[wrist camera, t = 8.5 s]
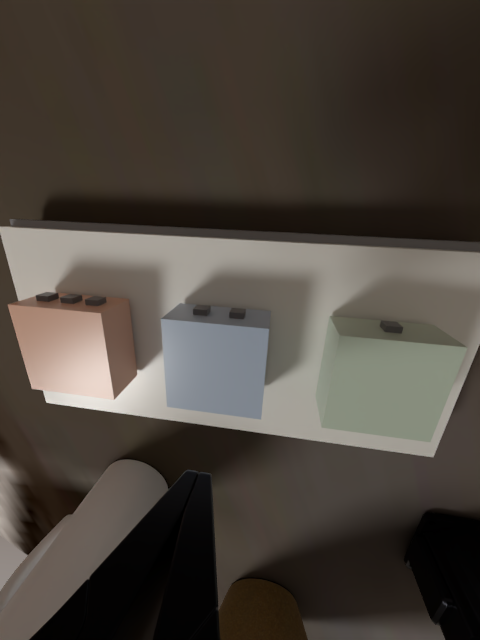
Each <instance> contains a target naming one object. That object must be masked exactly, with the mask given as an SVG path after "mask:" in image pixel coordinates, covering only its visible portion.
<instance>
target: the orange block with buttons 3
mask: <svg viewBox="0 0 480 640" xmlns="http://www.w3.org/2000/svg"><path fill="white" fill-rule="evenodd" d="M8 307H9V311H10V314H11V318H12V321H13V325H14V328H15V332H16V335H17V339H18V342H19V345H20V349H21V352H22V356H23V359H24V363H25V366H26V370H27V373H28V377H29V380H30V384H31V387H32V389H37V390H45V391H52V392H60V393H67V394H74V395H82V396H89V397H97V398H104V399H111V400H115V399H116V397H117V396H118V395H119V394H120V393H121V392H122V391H123V390H124V389H125V388H126V387H127V386H128V385H129V384H130V382H131V381H132V380H133V379H134V378H135V377H136V376H137V366H136V357H135V349H134V340H133V331H132V322H131V314H130V305H129V299H124V298H113V297H101V296H89V295H78V294H66V293H54V292H44V293H41V294H38V295H36V296H34V297H31V298H28V299H24V300H21V301H18V302H14V303H11V304H8Z"/></svg>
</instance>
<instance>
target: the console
mask: <svg viewBox="0 0 480 640" xmlns="http://www.w3.org/2000/svg"><path fill="white" fill-rule="evenodd" d="M10 223H11V226H9V227H0V234H1V238H2V241H3V245H4V249H5V252H6V256H7V260H8V263H9V267H10V271H11V275H12V278H13V282H14V286H15V289H16V293H17V297H18V300H19V301H21V300H24V299H28V298H31V297H34V296H36V295H38V294H41V293H44V292H54V293H66V294H78V295H89V296H101V297H113V298H124V299H129V305H130V314H131V322H132V331H133V340H134V349H135V357H136V366H137V376H136V377H135V378H134V379H133V380H132V381H131V382H130V384H129V385H128V386H127V387H126V388H125V389H124V390H123V391H122V392H121V393H120V394H119V395H118V396H117V397H116V399H115V400H111V399H104V398H97V397H89V396H82V395H74V394H67V393H60V392H52V391H45V390H43V392H44V396H45V400H46V403H52V404H59V405H66V406H74V407H81V408H88V409H95V410H102V411H109V412H116V413H123V414H130V415H137V416H144V417H151V418H159V419H166V420H173V421H180V422H187V423H194V424H201V425H208V426H215V427H222V428H229V429H236V430H243V431H251V432H258V433H265V434H272V435H279V436H286V437H293V438H300V439H307V440H314V441H321V442H328V443H336V444H343V445H350V446H357V447H364V448H371V449H378V450H385V451H392V452H399V453H406V454H413V455H421V456H428V457H434V454H435V452H436V449H437V447H438V444H439V442H440V439H441V437H442V435H443V432H444V430H445V427H446V425H447V422H448V420H449V418H450V415H451V413H452V410H453V408H454V405H455V403H456V401H457V398H458V396H459V393H460V391H461V388H462V386H463V383H464V381H465V379H466V376H467V374H468V371H469V369H470V366H471V364H472V362H473V359H474V357H475V354H476V352H477V349H478V347H479V345H480V242H472V241H452V240H431V239H411V238H391V237H371V236H351V235H331V234H311V233H291V232H270V231H250V230H230V229H210V228H190V227H170V226H150V225H130V224H109V223H89V222H69V221H49V220H29V219H10ZM180 303H183V304H195V305H207V306H218V307H230V308H242V309H253V310H265V311H271V317H270V328H269V339H268V351H267V362H266V373H265V384H264V395H263V405H262V416H261V420H260V419H253V418H245V417H238V416H231V415H223V414H216V413H208V412H201V411H194V410H186V409H179V408H171V407H167V399H166V385H165V371H164V357H163V343H162V328H161V318H162V317H164V316H165V315H166V314H167V313H169V312H170V311H171V310H172V309H174V308H175V307H176V306H177V305H178V304H180ZM329 316H336V317H348V318H359V319H371V320H383V321H394V322H406V323H418V324H429V325H435V326H436V327H438V328H439V329H441V330H442V331H444V332H445V333H447V334H448V335H450V336H451V337H453V338H454V339H456V340H457V341H459V342H460V343H462V344H463V345H465V346H466V347H468V348H467V351H466V353H465V356H464V358H463V361H462V363H461V366H460V368H459V371H458V374H457V376H456V379H455V381H454V384H453V386H452V389H451V391H450V394H449V396H448V399H447V401H446V404H445V406H444V409H443V412H442V414H441V417H440V419H439V422H438V424H437V427H436V429H435V432H434V434H433V437H432V439H431V442H424V441H417V440H409V439H402V438H394V437H387V436H380V435H372V434H365V433H357V432H350V431H343V430H335V429H328V428H322V427H321V422H320V417H319V412H318V407H317V402H316V397H315V396H316V390H317V384H318V379H319V373H320V367H321V361H322V356H323V350H324V344H325V339H326V333H327V327H328V321H329Z"/></svg>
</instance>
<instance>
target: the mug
mask: <svg viewBox="0 0 480 640" xmlns="http://www.w3.org/2000/svg"><path fill="white" fill-rule="evenodd" d="M167 491H168V486H167V483H166V481H165V479H164V478H163V476H162V475H161V474H160V473H159V472H158V471H157V470H155V469H154V468H153V467H151V466H149V465H148V464H145V463H143V462H140V461H137V460H130V459H125V460H119V461H116V462H114V463H112V464H111V465H110V466H109V467H108V468H107V469H106V471H105V472H104V473H103V475H102V476H101V477H100V479H99V480H98V481H97V483H96V484H95V485H94V487H93V488H92V489H91V490H90V492H89V493H88V494H87V496H86V497H85V499H84V500H83V501H82V503H81V504H80V505H79V507H78V508H77V510H76V511H75V512H74V514H73V515H67V516H65V517H64V518H63V519H62V520H61V521H60V522H59V523H58V524H57V525H56V527H55V528H54V529H53V530H52V531H51V532H50V533H49V534H48V535H47V536H46V537H45V538H44V539H43V540H42V541H41V542H40V543H39V544H38V545H37V546H36V547H35V548H34V550H33V551H32V552H31V553H30V554H29V555H28V556H27V557H26V559H25V560H24V561H23V562H22V563H21V564H20V566H19V567H18V568H17V569H16V570H15V572H14V573H13V574H12V576H11V577H10V578H9V580H8V581H7V583H6V584H5V585H4V587H3V588H2V590H1V591H0V640H29V639H30V638H31V637H32V636H33V635H34V634H35V633H36V632H37V631H38V630H39V629H40V628H41V627H42V626H43V625H44V624H45V623H46V622H47V621H48V620H49V619H50V618H51V617H52V616H53V615H54V614H55V613H56V612H57V611H58V610H59V609H60V608H61V607H62V606H63V605H64V603H65V602H66V601H67V600H68V599H69V598H70V597H71V596H72V595H73V594H74V593H75V592H76V591H77V589H78V588H79V587H80V586H81V585H82V584H83V583H84V582H85V581H86V580H87V579H89V578H90V575H91V574H92V573H93V572H94V571H95V570H96V569H97V568H98V567H99V565H100V564H101V563H102V562H103V561H104V560H105V559H106V558H107V557H108V556H109V554H110V553H111V552H112V551H113V550H114V549H115V548H116V547H117V546H118V545H119V543H120V542H121V541H122V540H123V539H124V538H125V537H126V536H127V535H128V534H129V532H130V531H131V530H132V529H133V528H134V527H135V526H136V525H137V524H138V523H139V521H140V520H141V519H142V518H143V517H144V516H145V515H146V514H147V513H148V512H149V510H150V509H151V508H152V507H153V506H154V505H155V504H156V503H157V502H158V501H159V499H160V498H161V497H162V496H163V495H164V494H165V493H166V492H167Z"/></svg>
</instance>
